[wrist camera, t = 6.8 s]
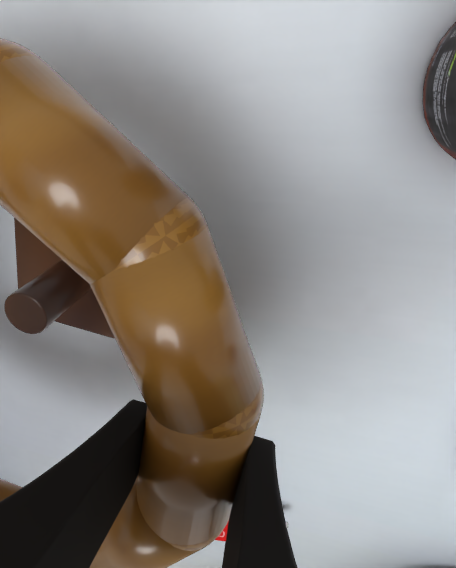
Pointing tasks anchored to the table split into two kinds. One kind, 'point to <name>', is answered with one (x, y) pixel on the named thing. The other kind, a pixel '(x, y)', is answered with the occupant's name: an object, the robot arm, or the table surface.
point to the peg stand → (50, 291)
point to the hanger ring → (138, 305)
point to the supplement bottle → (442, 93)
